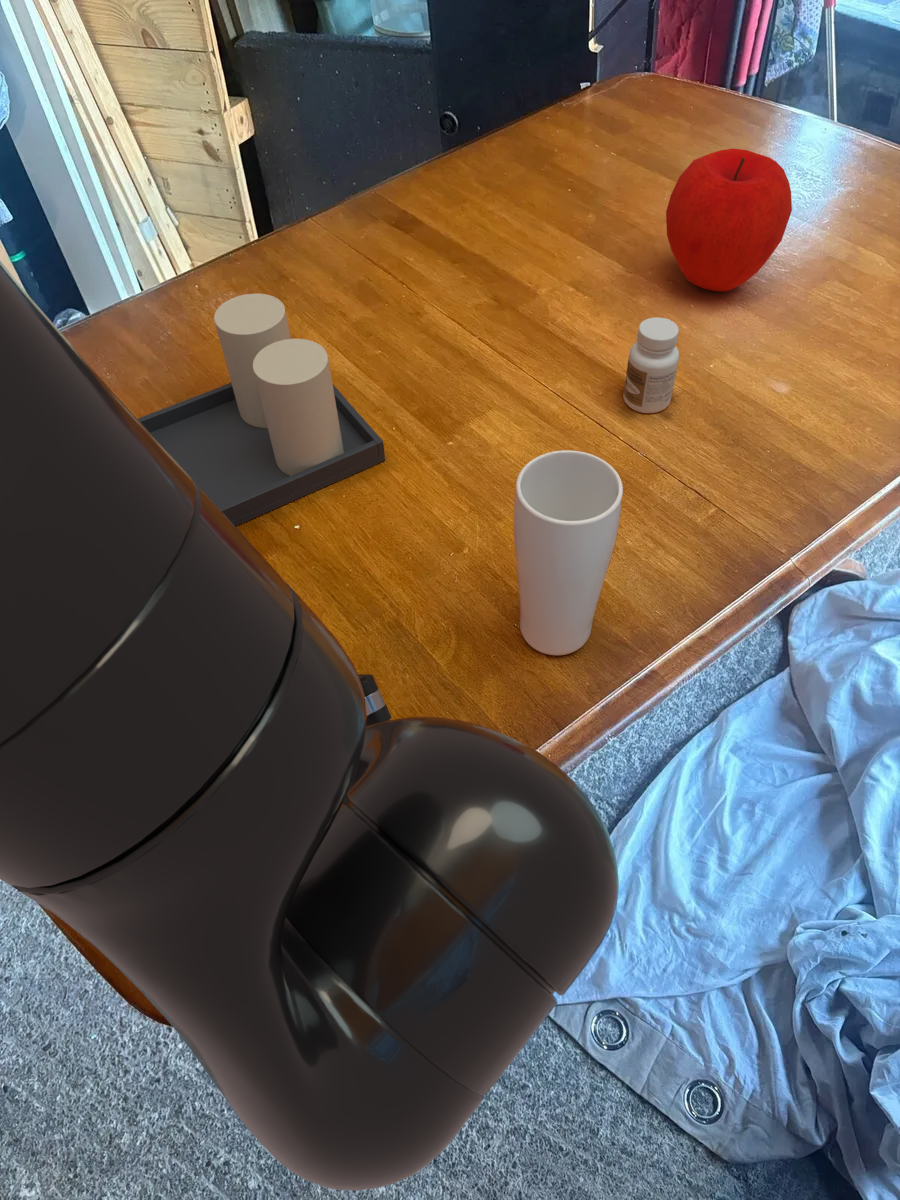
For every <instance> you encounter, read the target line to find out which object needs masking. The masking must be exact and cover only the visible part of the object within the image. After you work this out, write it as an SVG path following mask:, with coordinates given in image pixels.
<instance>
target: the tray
mask: <svg viewBox="0 0 900 1200" xmlns="http://www.w3.org/2000/svg"><path fill="white" fill-rule="evenodd" d="M333 390H334V396H335V402H336V408H337V414H338V420H339V426H340V432H341V438H342V444H343V450H344V453H343V454H341V455H338V456H336V457H334V458H332V459H329V460H327V461H325V462H322V463H320V464H318V465H315V466H313V467H311V468H308V469H306V470H304V471H301V472H299V473H297V474H294V475H292V476H289V475H287V474H285V473H284V472H283V471H281V470H280V468H279V467H278V465H277V463H276V459H275V455H274V451H273V447H272V443H271V439H270V435H269V431H268V428H259V427H255V426H252V425H250V424H248V423H246V422H245V421H244V420H243V419H242V417H241V416H240V413H239V409H238V405H237V402H236V398H235V394H234V391H233V387H232V383H231V382H229V383H227V384H224V385H221V386H218V387H216V388H213V389H211V390H208V391H206V392H202V393H201V394H198V395H195V396H193V397H190V398H188V399H187V398H186V399H185V400H182V401H180V402H177V403H175V404H172V405H169V406H167V407H163V408H162V409H158V410H156V411H154V412H150V413H148V414H145V415H144V416H141V417H137V419H138V420H139V421H140V422H141V423H142V425H143V426H144V427H145V428H146V429H147V430H148V431H149V432H150V433H151V434H152V435H153V437H154V438H155V439H156V440H157V441H158V442H159V443H160V444H161V445H162V446H163V447H164V448H165V450H166V451H167V452H168V453H169V454H170V455H171V456H172V457H173V458H174V459H175V460H176V462H177V463H178V464H179V465H180V466H181V467H182V468H183V469H184V470H185V471H186V472H187V473H188V475H189V476H190V477H191V479H193V480H194V481H195V483H196V484H197V485H198V486H199V487H200V488H201V489H202V490H203V491H204V492H205V494H206V495H207V496H208V497H209V498H210V499H211V500H212V501H213V502H214V503H215V505H216V506H217V507H218V508H219V509H220V510H221V511H222V512H223V513H224V514H225V516H226V517H227V518H228V519H229V520H230V521H231V522H232V523H233V524H234V525H235V527H238V526H240V525H242V524H245V523H247V522H249V521H251V520H254V519H255V518H258V517H260V516H262V515H265V514H267V513H269V512H271V511H274V510H276V509H278V508H281V507H283V506H285V505H288V504H289V503H292V502H294V501H296V500H299V499H302V498H303V497H306V496H308V495H311V494H312V493H315V492H317V491H319V490H322V489H324V488H326V487H329V486H331V485H334V484H336V483H337V482H340V481H342V480H344V479H347V478H349V477H351V476H354V475H356V474H358V473H360V472H363V471H365V470H367V469H370V468H372V467H374V466H377V465H379V464H381V463H384V462H385V461H386V455H385V454H386V453H385V452H386V451H385V445H384V440H383V439H382V438H381V437H380V436H379V435H378V433H376V431H375V430H374V429H373V428H372V427H371V426H370V424H369V423H368V422H367V421H366V420H365V418H363V416H362V415H361V414H360V413H359V412H358V411H357V409H356V408H355V407H353V405H352V404H351V403H350V402H349V401H348V399H347V398H346V397H345V396H344V394H342V393H341V392H340V391H339V389H338V388H337V387H336V386H335V384H333Z"/></svg>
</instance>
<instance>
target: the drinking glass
mask: <svg viewBox="0 0 900 1200" xmlns="http://www.w3.org/2000/svg"><path fill="white" fill-rule="evenodd" d="M623 494H624V486H623V481H622V479H621V476H620V475H619V473H618V472H617V470H616V469H615V468H614V467H613V466H612V465H611V464H610V463H608V462H607V461H606V460H604V459H603V458H601V457H598V456H597V455H595V454H592V453H588V452H585V451H581V450H580V451H579V450H574V449H573V450H570V449H569V450H568V449H563V450H562V449H561V450H554V451H549V452H546V453H543V454H540V455H538V456H536V457H534V458H533V459H531V460H530V461H528V462H527V463H526V464H525V465H523V467H522V468H521V470H520V471H519V473H518V475H517V477H516V482H515V492H514V500H513V501H514V502H513V515H512V516H513V519H512V521H513V522H512V523H513V526H512V527H513V529H512V531H513V542H514V543H513V544H514V545H513V546H514V555H515V567H516V577H517V590H518V599H519V600H518V601H519V629H520V633H521V635H522V638H523V639H524V640H525V642H526V643H527V644H528V645H529V646H530V647H531V648H532V649H534V650H535V651H537V652H539V653H541V654H545V655H548V656H566V655H569V654H572V653H575V652H576V651H578V650H580V649H581V648H582V647H583V646H584V645H585V644H586V643H587V642H588V640H589V639H590V636H591V634H592V629H593V624H594V618H595V614H596V610H597V607H598V604H599V601H600V596H601V594H602V590H603V587H604V583H605V580H606V577H607V573H608V569H609V566H610V563H611V559H612V556H613V554H614V549H615V546H616V542H617V538H618V532H619V528H620V523H621V514H622V505H623Z"/></svg>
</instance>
